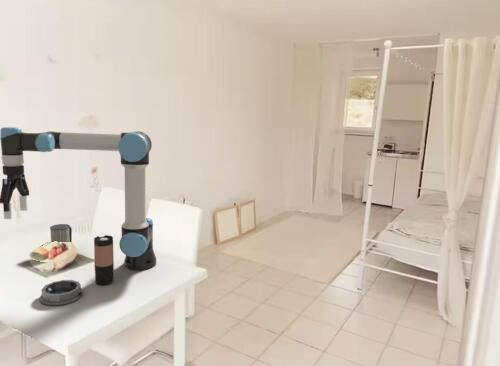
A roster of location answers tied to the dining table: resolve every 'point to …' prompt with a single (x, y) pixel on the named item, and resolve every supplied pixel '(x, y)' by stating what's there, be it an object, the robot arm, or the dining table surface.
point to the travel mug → (103, 260)
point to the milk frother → (61, 233)
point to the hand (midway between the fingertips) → (16, 214)
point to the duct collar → (61, 293)
